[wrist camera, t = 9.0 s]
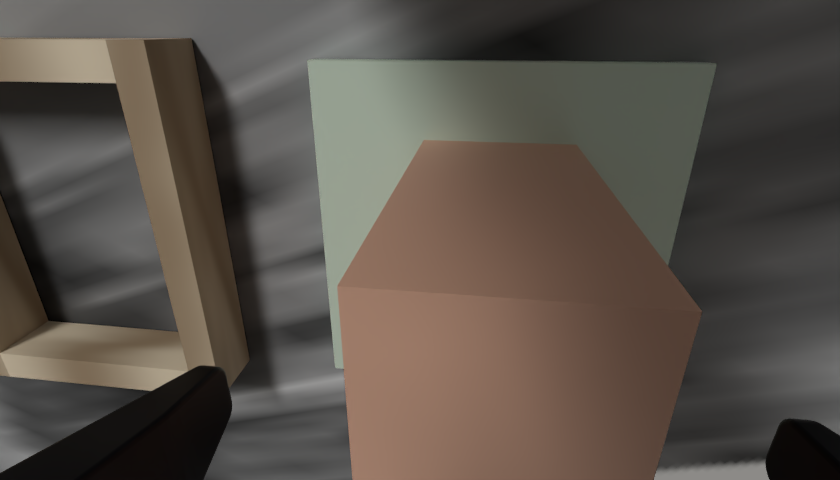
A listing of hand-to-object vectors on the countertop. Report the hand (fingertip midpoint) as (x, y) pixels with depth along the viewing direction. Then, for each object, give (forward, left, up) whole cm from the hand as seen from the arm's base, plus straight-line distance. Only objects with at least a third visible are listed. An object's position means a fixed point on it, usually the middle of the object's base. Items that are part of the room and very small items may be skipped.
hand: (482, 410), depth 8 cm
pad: (0, 0, -7) cm, 7 cm away
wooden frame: (+13, 0, -7) cm, 15 cm away
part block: (0, 0, -7) cm, 7 cm away
